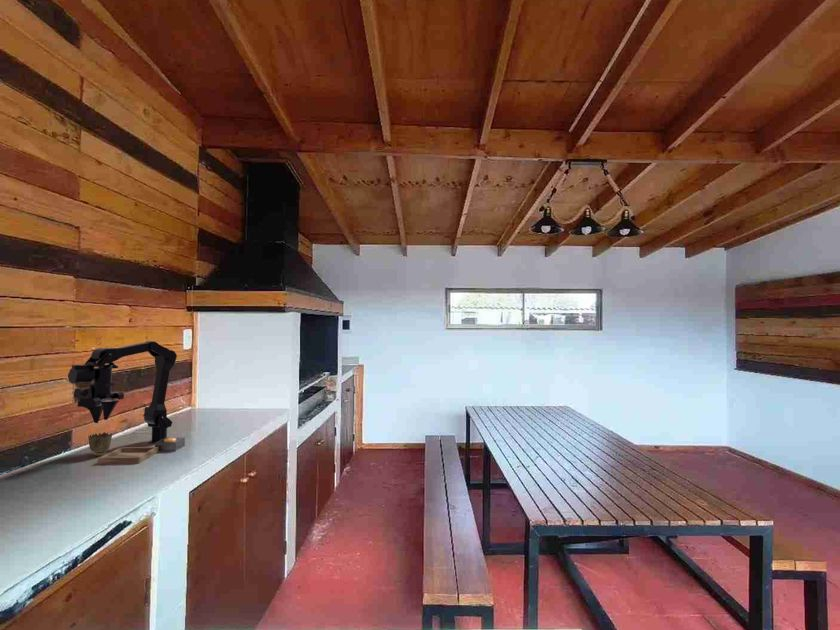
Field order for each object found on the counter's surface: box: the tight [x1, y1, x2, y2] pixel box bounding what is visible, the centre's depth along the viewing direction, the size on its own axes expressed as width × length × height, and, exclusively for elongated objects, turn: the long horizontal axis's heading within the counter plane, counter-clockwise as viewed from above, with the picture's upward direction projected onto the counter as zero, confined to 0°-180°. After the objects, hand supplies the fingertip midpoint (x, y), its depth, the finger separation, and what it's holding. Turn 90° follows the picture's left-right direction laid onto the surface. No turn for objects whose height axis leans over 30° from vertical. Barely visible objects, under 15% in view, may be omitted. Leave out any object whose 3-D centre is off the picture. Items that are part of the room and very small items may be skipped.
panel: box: [154, 436, 186, 452], centre depth 175 cm, size 8×8×4 cm
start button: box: [164, 437, 176, 442], centre depth 175 cm, size 4×4×2 cm
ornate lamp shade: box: [87, 432, 113, 457], centre depth 165 cm, size 8×7×8 cm
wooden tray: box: [97, 446, 160, 465], centre depth 162 cm, size 14×14×2 cm
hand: (101, 421), depth 165 cm, fingers open, 5 cm apart
